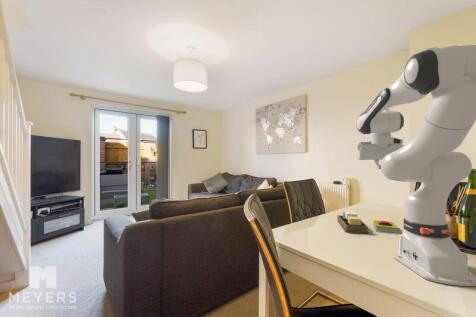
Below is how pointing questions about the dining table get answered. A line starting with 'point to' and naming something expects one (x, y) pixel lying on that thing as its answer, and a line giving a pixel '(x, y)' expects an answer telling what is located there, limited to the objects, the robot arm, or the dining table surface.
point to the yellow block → (354, 221)
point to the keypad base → (350, 228)
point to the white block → (350, 214)
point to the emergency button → (385, 227)
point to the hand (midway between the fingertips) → (381, 168)
